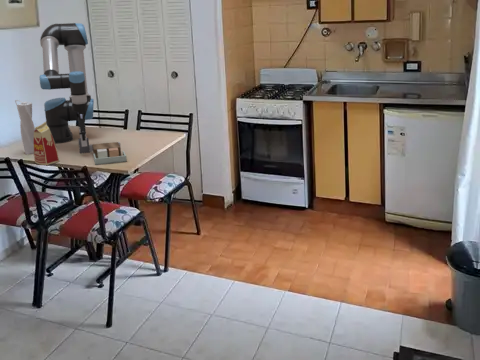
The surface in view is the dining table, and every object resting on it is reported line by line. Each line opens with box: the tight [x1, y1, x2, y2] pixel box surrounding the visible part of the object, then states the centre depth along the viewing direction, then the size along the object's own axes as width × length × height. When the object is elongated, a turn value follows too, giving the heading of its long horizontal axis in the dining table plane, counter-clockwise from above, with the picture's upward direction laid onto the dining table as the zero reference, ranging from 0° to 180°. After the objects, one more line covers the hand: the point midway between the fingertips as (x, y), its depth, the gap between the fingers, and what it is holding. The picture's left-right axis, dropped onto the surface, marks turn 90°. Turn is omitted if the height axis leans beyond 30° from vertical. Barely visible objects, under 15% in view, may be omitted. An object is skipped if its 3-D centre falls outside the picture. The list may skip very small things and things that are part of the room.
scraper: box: [77, 137, 122, 154], centre depth 295 cm, size 21×4×7 cm, turn 108°
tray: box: [92, 150, 128, 166], centre depth 278 cm, size 15×10×3 cm, turn 108°
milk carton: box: [33, 121, 60, 166], centre depth 273 cm, size 9×9×20 cm
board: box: [91, 141, 122, 158], centre depth 287 cm, size 13×11×5 cm
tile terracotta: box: [109, 148, 119, 157], centre depth 280 cm, size 4×4×4 cm
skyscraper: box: [14, 99, 35, 155], centre depth 289 cm, size 8×8×28 cm
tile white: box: [97, 149, 108, 158], centre depth 278 cm, size 4×4×4 cm
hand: (83, 143), depth 293 cm, fingers open, 13 cm apart
